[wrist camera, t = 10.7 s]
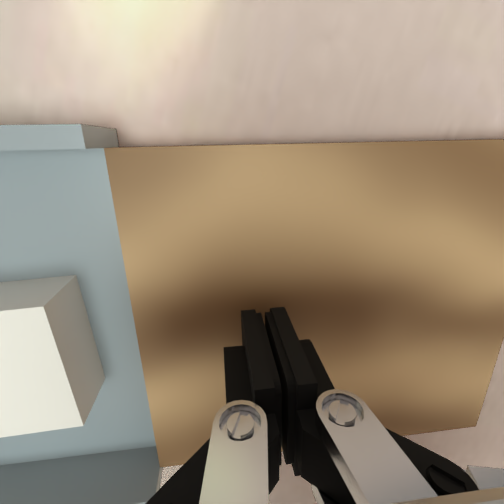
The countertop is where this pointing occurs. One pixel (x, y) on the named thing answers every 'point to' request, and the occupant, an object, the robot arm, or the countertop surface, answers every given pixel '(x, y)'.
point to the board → (316, 271)
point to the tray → (98, 310)
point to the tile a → (46, 356)
